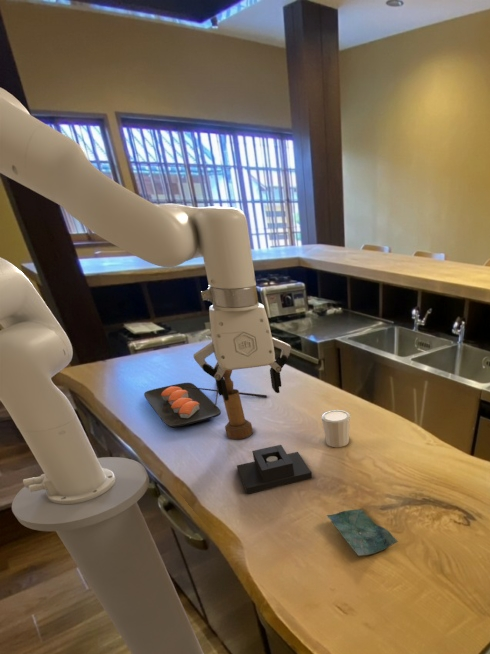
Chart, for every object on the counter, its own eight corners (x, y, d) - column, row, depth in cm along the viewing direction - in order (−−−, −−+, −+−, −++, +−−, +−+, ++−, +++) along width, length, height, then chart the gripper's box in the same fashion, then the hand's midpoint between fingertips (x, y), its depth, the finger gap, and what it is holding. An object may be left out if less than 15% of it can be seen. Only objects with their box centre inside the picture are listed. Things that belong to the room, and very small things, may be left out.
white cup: (332, 451, 102) (330, 424, 97) (318, 440, 106) (316, 414, 102) (356, 443, 105) (355, 417, 101) (342, 432, 109) (340, 407, 105)
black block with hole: (264, 482, 88) (261, 470, 86) (254, 462, 95) (252, 450, 93) (294, 475, 91) (292, 463, 89) (283, 456, 97) (281, 444, 95)
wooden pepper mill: (224, 430, 110) (207, 360, 99) (249, 425, 112) (235, 356, 101) (229, 441, 105) (211, 369, 94) (255, 436, 108) (241, 365, 97)
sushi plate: (143, 397, 126) (138, 385, 124) (240, 376, 141) (237, 364, 138) (170, 434, 108) (165, 421, 106) (278, 405, 122) (276, 393, 120)
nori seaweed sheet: (326, 522, 80) (325, 514, 79) (362, 510, 84) (362, 502, 83) (359, 563, 72) (359, 555, 71) (397, 548, 75) (398, 540, 74)
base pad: (247, 494, 88) (243, 478, 85) (238, 470, 95) (234, 455, 92) (312, 478, 93) (310, 462, 90) (298, 457, 100) (296, 441, 97)
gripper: (182, 305, 66) (207, 409, 76) (291, 298, 72) (300, 394, 83) (177, 295, 71) (201, 393, 81) (279, 289, 77) (289, 381, 88)
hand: (251, 394), depth 82 cm, fingers open, 9 cm apart
